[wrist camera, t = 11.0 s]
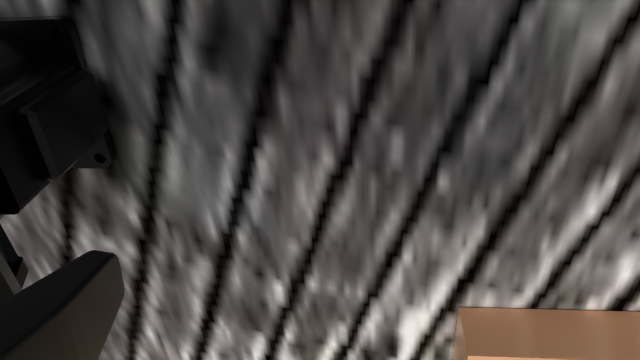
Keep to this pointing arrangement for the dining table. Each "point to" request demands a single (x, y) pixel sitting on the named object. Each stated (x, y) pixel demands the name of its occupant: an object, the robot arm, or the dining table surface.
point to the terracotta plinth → (546, 334)
